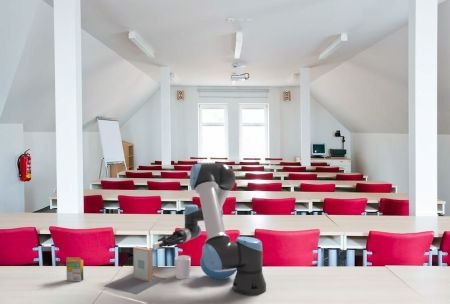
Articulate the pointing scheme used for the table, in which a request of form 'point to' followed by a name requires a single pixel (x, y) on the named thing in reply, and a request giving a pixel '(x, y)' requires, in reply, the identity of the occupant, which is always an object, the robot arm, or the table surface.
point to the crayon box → (74, 269)
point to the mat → (134, 284)
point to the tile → (143, 263)
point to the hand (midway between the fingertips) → (153, 246)
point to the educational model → (216, 274)
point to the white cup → (182, 266)
